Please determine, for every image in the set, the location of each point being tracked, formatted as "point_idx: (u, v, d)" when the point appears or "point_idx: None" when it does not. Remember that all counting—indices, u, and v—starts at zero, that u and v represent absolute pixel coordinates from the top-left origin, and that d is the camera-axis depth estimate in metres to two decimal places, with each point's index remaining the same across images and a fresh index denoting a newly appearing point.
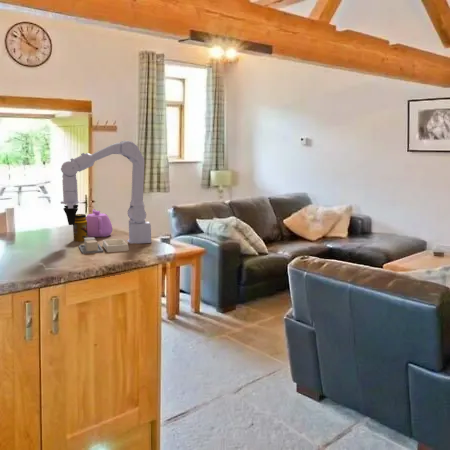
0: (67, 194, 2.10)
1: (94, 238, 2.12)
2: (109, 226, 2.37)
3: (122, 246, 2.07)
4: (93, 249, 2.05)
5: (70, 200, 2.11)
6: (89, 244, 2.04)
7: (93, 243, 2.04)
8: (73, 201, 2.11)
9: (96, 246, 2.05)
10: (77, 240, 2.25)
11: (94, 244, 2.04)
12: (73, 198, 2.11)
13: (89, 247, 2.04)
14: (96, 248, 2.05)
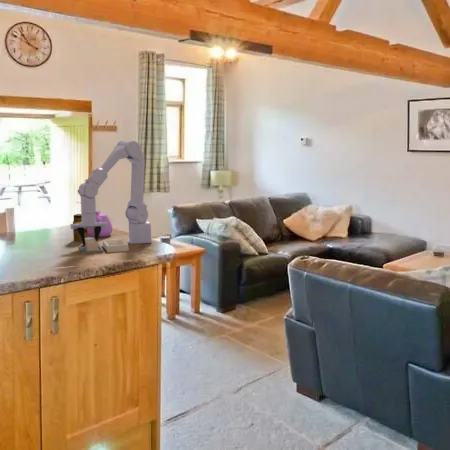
0: None
1: (94, 238, 2.12)
2: (109, 226, 2.37)
3: (122, 246, 2.07)
4: (93, 249, 2.05)
5: None
6: (89, 244, 2.04)
7: (93, 243, 2.04)
8: (82, 223, 2.09)
9: (96, 246, 2.05)
10: (77, 240, 2.25)
11: (94, 244, 2.04)
12: (82, 220, 2.08)
13: (89, 247, 2.04)
14: (96, 248, 2.05)
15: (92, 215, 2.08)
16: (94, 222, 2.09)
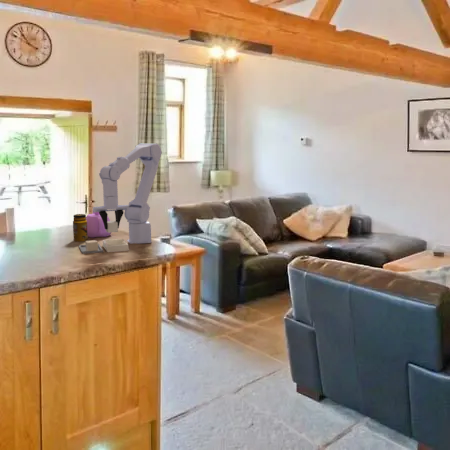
0: None
1: None
2: None
3: (122, 246, 2.07)
4: (93, 249, 2.05)
5: (104, 205, 2.10)
6: (89, 244, 2.04)
7: (93, 243, 2.04)
8: (105, 206, 2.09)
9: (96, 246, 2.05)
10: (77, 240, 2.25)
11: (94, 244, 2.04)
12: (105, 203, 2.09)
13: (89, 247, 2.04)
14: (96, 248, 2.05)
15: (115, 198, 2.09)
16: (116, 205, 2.10)
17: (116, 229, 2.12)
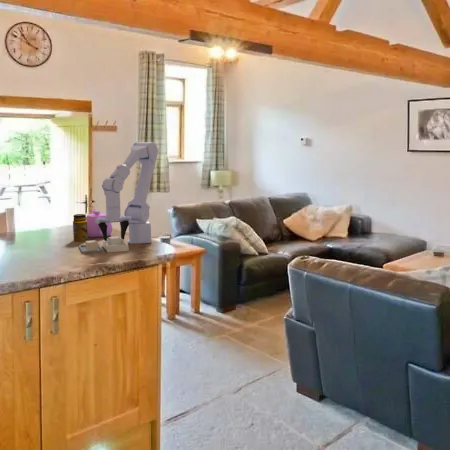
0: (106, 210, 2.12)
1: (119, 237, 2.14)
2: (109, 226, 2.37)
3: (122, 246, 2.07)
4: (93, 249, 2.05)
5: (106, 216, 2.11)
6: (89, 244, 2.04)
7: (93, 243, 2.04)
8: (107, 217, 2.10)
9: (96, 246, 2.05)
10: (77, 240, 2.25)
11: (94, 244, 2.04)
12: (108, 214, 2.10)
13: (89, 247, 2.04)
14: (96, 248, 2.05)
15: (117, 209, 2.10)
16: (119, 216, 2.12)
17: None
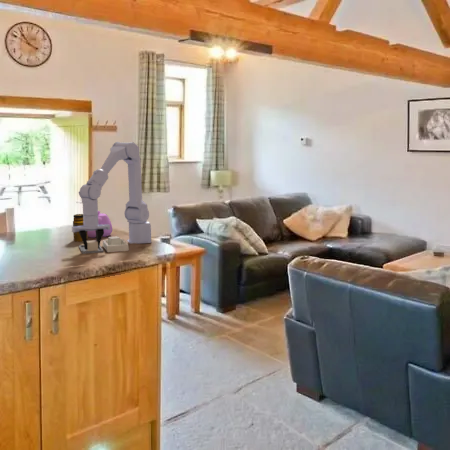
0: None
1: (119, 237, 2.14)
2: None
3: (122, 246, 2.07)
4: (93, 249, 2.05)
5: None
6: (89, 244, 2.04)
7: (93, 243, 2.04)
8: (84, 226, 2.03)
9: (96, 246, 2.05)
10: (77, 240, 2.25)
11: (94, 244, 2.04)
12: (84, 222, 2.02)
13: (89, 247, 2.04)
14: (96, 248, 2.05)
15: (94, 217, 2.02)
16: (96, 225, 2.04)
17: None
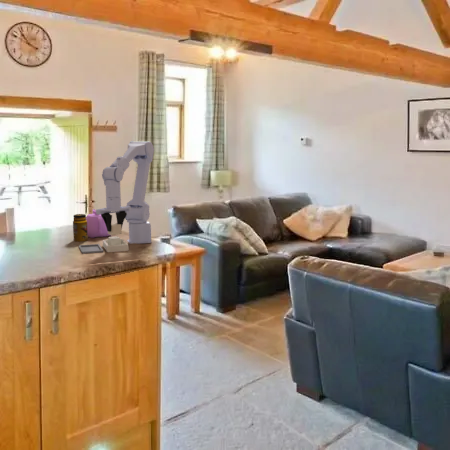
0: (106, 200, 2.05)
1: (119, 237, 2.14)
2: None
3: (122, 246, 2.07)
4: (117, 231, 2.07)
5: (107, 206, 2.05)
6: (113, 227, 2.06)
7: (117, 225, 2.07)
8: (109, 208, 2.04)
9: (120, 228, 2.08)
10: (77, 240, 2.25)
11: (118, 226, 2.07)
12: (109, 205, 2.04)
13: (113, 230, 2.06)
14: (120, 230, 2.08)
15: (119, 199, 2.05)
16: (120, 206, 2.07)
17: None
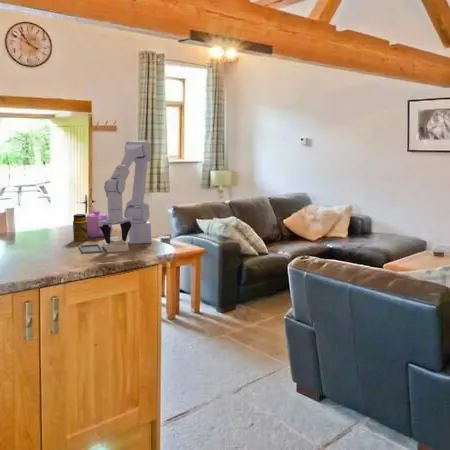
0: (108, 211, 2.06)
1: (119, 237, 2.14)
2: (109, 226, 2.37)
3: (122, 246, 2.07)
4: None
5: (109, 218, 2.06)
6: (116, 242, 2.07)
7: (119, 241, 2.08)
8: (111, 219, 2.05)
9: (122, 244, 2.09)
10: (77, 240, 2.25)
11: (120, 242, 2.08)
12: (111, 216, 2.05)
13: None
14: None
15: (121, 211, 2.06)
16: (122, 218, 2.08)
17: None
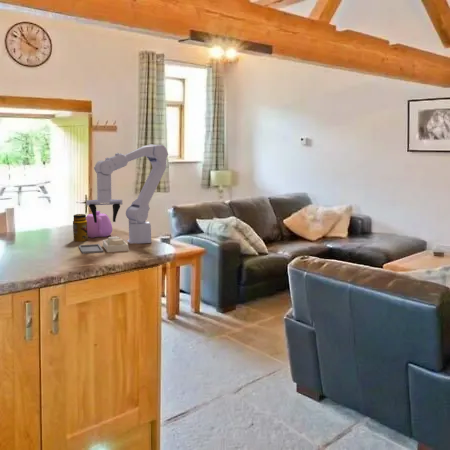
0: None
1: (119, 237, 2.14)
2: (109, 226, 2.37)
3: (122, 246, 2.07)
4: None
5: (97, 198, 2.14)
6: (116, 242, 2.07)
7: (119, 241, 2.08)
8: (98, 199, 2.13)
9: (122, 244, 2.09)
10: (77, 240, 2.25)
11: (120, 242, 2.08)
12: (98, 196, 2.12)
13: None
14: None
15: (108, 192, 2.12)
16: (109, 199, 2.14)
17: None
